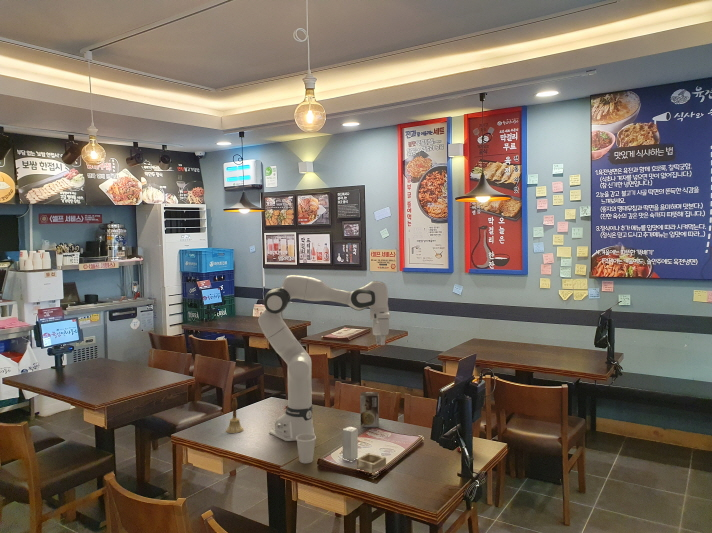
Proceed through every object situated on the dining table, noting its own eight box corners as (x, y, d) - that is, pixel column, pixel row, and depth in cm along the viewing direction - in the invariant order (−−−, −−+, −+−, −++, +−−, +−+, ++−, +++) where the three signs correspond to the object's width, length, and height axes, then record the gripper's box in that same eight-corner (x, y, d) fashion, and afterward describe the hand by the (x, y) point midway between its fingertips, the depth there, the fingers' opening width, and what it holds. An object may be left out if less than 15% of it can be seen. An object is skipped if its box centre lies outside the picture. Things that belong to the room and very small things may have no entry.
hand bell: (222, 430, 255) (222, 397, 254) (238, 426, 260) (238, 394, 260) (231, 434, 248) (231, 401, 248) (246, 430, 254) (246, 398, 253)
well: (356, 470, 209) (356, 459, 209) (368, 463, 216) (368, 452, 215) (373, 476, 204) (374, 464, 204) (385, 468, 211) (386, 457, 210)
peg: (342, 459, 219) (342, 429, 219) (349, 456, 223) (349, 426, 222) (351, 462, 217) (351, 431, 216) (357, 459, 220) (357, 428, 220)
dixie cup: (297, 456, 223) (297, 433, 222) (317, 456, 223) (317, 433, 222) (294, 464, 214) (294, 440, 214) (314, 464, 214) (314, 440, 214)
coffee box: (379, 423, 265) (379, 391, 265) (378, 427, 259) (378, 395, 258) (361, 422, 266) (361, 391, 266) (360, 427, 260) (360, 394, 259)
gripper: (368, 316, 256) (370, 344, 254) (377, 314, 236) (378, 345, 234) (381, 316, 257) (382, 344, 255) (390, 314, 237) (392, 345, 235)
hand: (380, 345), depth 245 cm, fingers open, 8 cm apart
